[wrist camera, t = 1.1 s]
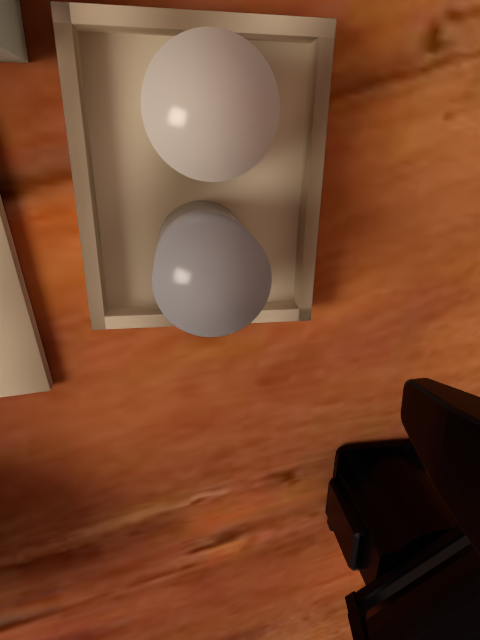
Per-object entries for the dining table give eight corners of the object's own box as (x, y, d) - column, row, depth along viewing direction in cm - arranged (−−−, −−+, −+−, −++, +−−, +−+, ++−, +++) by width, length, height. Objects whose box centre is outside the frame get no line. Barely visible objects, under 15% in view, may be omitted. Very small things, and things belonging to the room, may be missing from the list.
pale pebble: (249, 63, 17) (283, 30, 12) (247, 171, 18) (276, 182, 13) (146, 59, 16) (135, 22, 11) (152, 170, 18) (145, 182, 13)
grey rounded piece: (246, 200, 19) (274, 221, 14) (245, 286, 20) (269, 334, 15) (154, 200, 18) (148, 222, 13) (159, 289, 20) (155, 339, 15)
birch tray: (322, 29, 17) (336, 18, 16) (301, 308, 22) (310, 320, 20) (61, 14, 16) (50, 1, 14) (97, 316, 20) (91, 329, 19)
